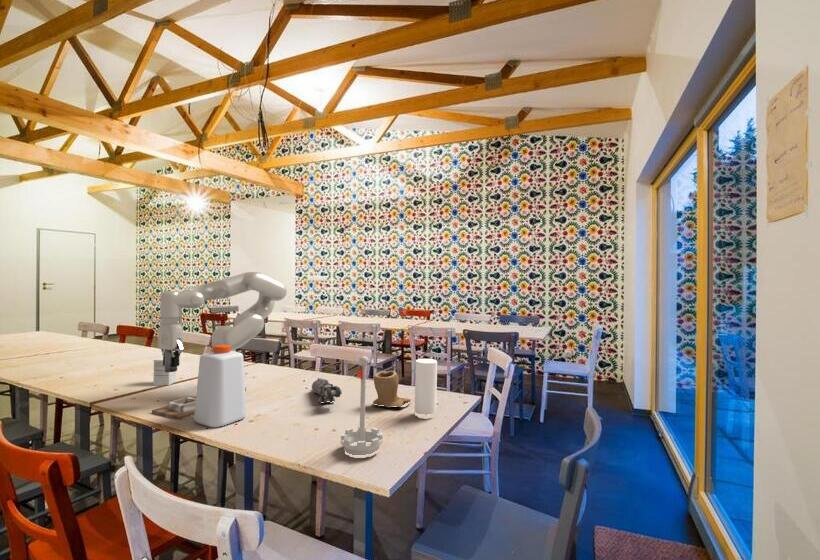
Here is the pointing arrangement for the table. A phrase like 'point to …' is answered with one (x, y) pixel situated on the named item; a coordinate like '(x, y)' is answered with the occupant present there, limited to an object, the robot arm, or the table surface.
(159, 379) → the supplement box
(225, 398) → the plastic bottle
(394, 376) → the stone cup
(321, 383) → the grey lumpy piece
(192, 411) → the docking plate
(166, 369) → the gold topped cylinder
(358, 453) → the flag stand
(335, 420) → the table surface
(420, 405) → the tall white tube
